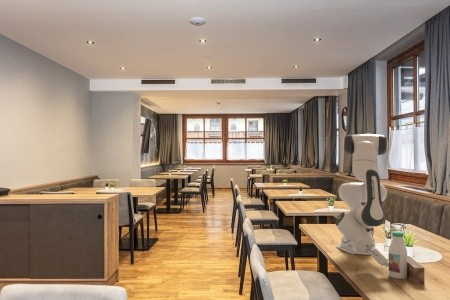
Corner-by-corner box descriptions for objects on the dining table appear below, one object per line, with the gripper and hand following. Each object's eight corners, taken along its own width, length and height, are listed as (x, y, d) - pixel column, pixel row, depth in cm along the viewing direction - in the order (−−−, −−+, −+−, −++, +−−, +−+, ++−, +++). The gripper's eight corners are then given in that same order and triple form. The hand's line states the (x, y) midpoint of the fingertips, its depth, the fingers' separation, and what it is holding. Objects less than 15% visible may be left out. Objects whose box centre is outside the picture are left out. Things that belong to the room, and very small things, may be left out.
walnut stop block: (414, 284, 157) (414, 267, 157) (400, 270, 175) (400, 255, 175) (424, 284, 156) (424, 268, 156) (409, 271, 174) (409, 256, 174)
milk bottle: (401, 273, 170) (401, 230, 171) (411, 279, 163) (410, 233, 163) (385, 274, 170) (385, 230, 170) (394, 279, 162) (394, 234, 162)
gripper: (375, 243, 158) (399, 267, 156) (365, 233, 178) (386, 254, 177) (364, 253, 159) (388, 277, 157) (355, 242, 179) (376, 263, 177)
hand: (387, 265), depth 167 cm, fingers closed, pressing on milk bottle
